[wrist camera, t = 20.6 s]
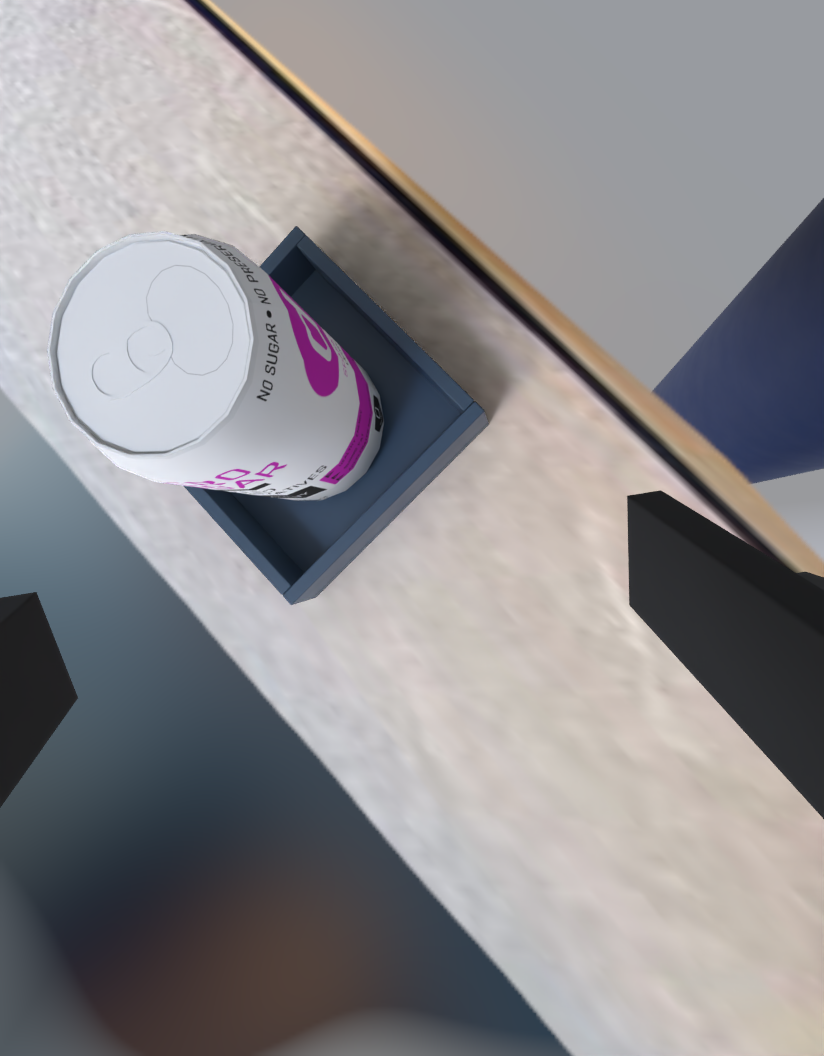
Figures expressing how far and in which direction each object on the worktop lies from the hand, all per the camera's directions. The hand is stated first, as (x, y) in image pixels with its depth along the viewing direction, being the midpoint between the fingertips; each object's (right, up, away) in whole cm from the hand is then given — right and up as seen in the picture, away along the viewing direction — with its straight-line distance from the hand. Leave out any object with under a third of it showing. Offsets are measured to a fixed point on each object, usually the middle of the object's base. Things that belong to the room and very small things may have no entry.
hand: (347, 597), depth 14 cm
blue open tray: (-4, +7, +21) cm, 22 cm away
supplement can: (-4, +7, +20) cm, 22 cm away
